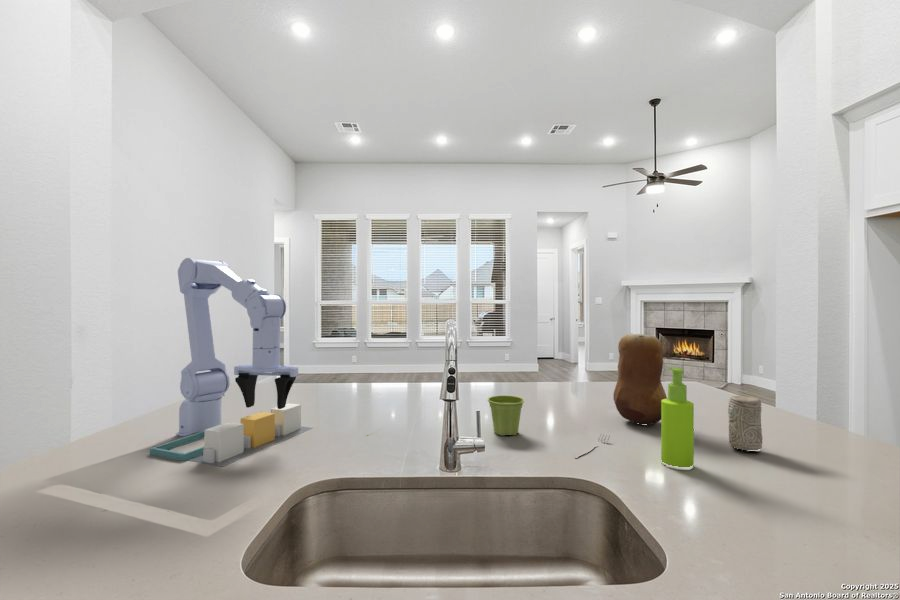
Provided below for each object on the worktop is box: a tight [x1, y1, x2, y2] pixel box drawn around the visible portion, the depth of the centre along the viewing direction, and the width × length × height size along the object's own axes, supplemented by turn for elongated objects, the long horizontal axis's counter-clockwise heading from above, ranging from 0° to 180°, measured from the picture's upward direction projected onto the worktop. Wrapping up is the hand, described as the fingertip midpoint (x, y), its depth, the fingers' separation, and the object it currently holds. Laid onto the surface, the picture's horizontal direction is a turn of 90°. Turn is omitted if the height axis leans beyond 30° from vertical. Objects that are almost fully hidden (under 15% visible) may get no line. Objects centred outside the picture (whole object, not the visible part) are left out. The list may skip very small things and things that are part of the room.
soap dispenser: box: [660, 366, 695, 467], centre depth 88 cm, size 6×7×20 cm
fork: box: [597, 433, 610, 443], centre depth 97 cm, size 3×16×2 cm, turn 137°
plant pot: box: [487, 394, 525, 436], centre depth 109 cm, size 9×9×9 cm
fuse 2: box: [270, 403, 302, 435], centre depth 105 cm, size 4×6×6 cm, turn 160°
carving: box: [727, 395, 764, 451], centre depth 97 cm, size 6×8×12 cm
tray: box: [149, 431, 205, 462], centre depth 93 cm, size 10×14×3 cm
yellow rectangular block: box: [240, 411, 275, 448], centre depth 96 cm, size 4×6×6 cm, turn 160°
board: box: [187, 424, 313, 468], centre depth 96 cm, size 9×27×4 cm, turn 160°
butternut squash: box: [613, 332, 668, 426], centre depth 118 cm, size 14×13×25 cm
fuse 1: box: [203, 421, 244, 462], centre depth 88 cm, size 4×6×6 cm, turn 160°
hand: (265, 407), depth 96 cm, fingers open, 7 cm apart
